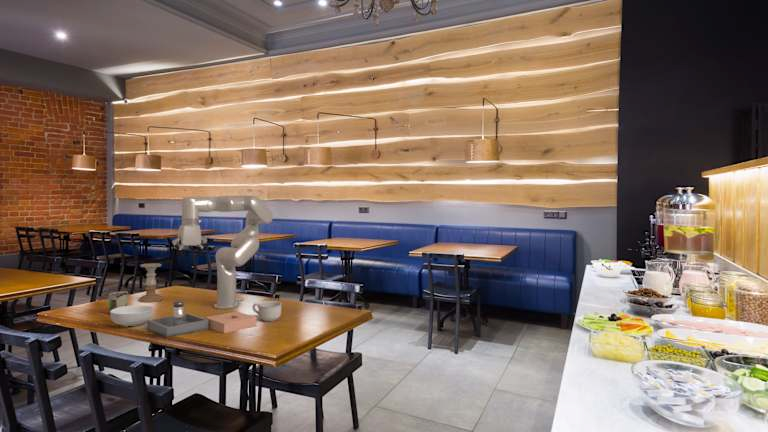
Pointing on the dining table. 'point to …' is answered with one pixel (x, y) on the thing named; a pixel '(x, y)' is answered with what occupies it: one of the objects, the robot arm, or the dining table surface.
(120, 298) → the food container
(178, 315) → the pin
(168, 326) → the tray
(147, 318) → the cereal bowl
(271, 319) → the teacup
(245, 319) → the hitch block
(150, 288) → the candle holder
